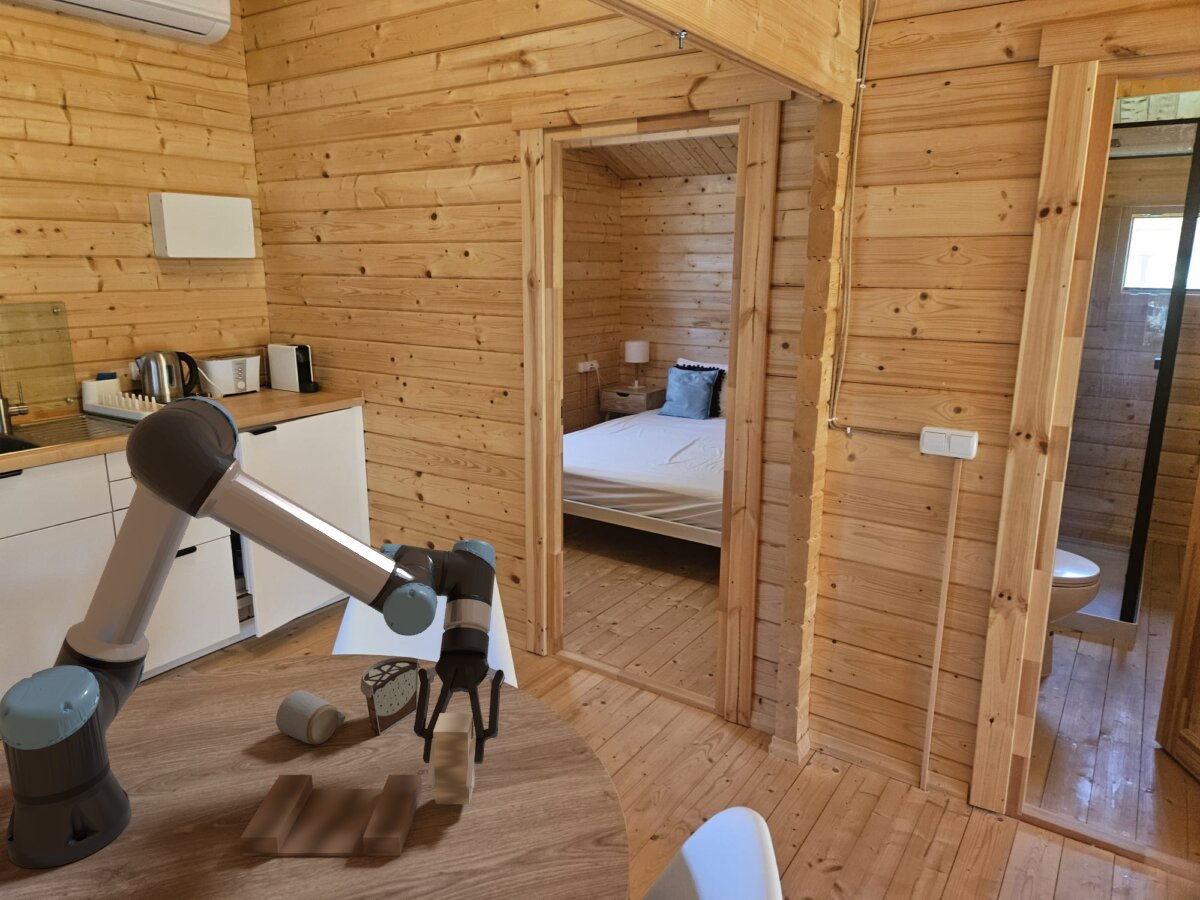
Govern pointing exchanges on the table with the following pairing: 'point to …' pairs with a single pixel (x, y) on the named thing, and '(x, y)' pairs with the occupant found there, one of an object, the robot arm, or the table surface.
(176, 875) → the table surface
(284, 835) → the cradle
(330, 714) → the ceramic mug
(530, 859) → the table surface
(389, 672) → the food container
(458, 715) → the tall wooden block
